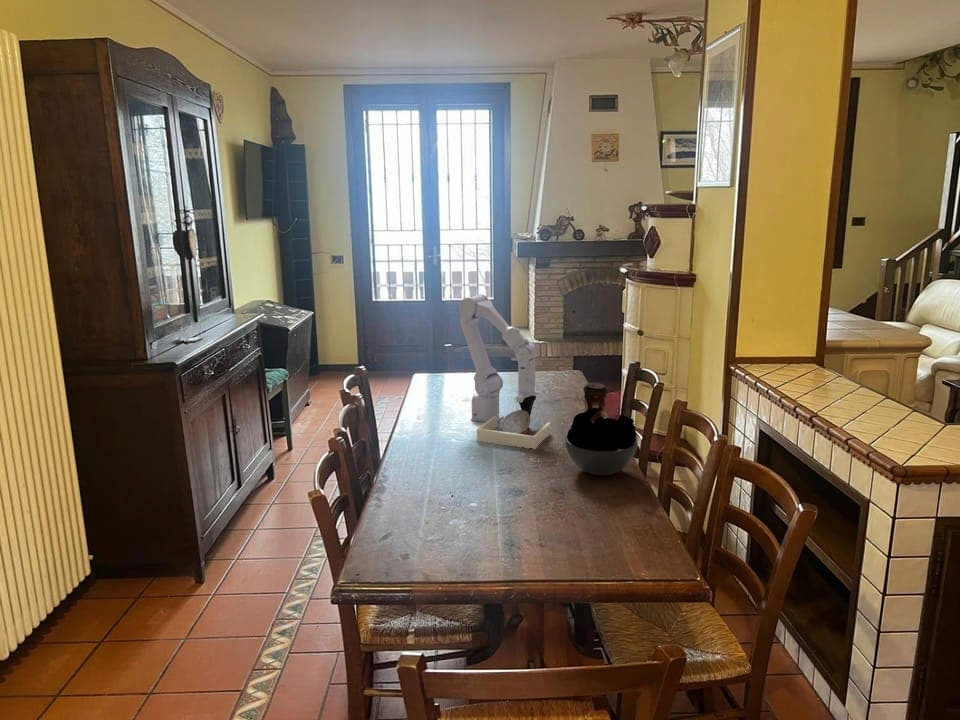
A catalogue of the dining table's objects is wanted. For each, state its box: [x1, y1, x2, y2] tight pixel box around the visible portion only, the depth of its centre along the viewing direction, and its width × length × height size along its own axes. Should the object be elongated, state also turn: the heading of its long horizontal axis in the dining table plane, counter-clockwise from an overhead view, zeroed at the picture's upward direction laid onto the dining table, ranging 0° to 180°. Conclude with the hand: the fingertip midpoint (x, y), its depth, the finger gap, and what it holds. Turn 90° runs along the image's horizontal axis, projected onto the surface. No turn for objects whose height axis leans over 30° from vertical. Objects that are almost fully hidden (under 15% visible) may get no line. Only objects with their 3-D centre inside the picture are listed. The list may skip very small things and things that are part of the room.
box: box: [476, 416, 551, 450], centre depth 220 cm, size 20×15×4 cm
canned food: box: [499, 409, 531, 436], centre depth 221 cm, size 11×10×10 cm
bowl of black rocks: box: [564, 408, 638, 476], centre depth 190 cm, size 20×20×19 cm
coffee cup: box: [582, 382, 609, 423], centre depth 235 cm, size 9×8×13 cm
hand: (526, 416), depth 231 cm, fingers closed
